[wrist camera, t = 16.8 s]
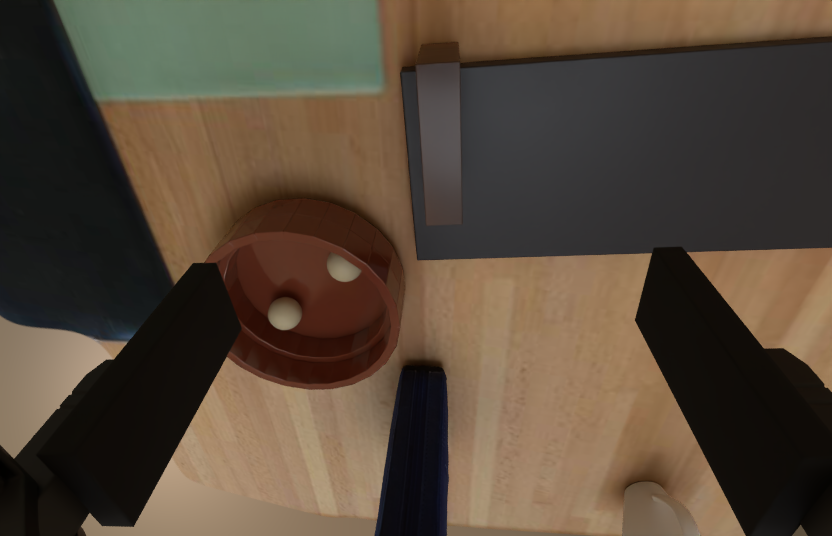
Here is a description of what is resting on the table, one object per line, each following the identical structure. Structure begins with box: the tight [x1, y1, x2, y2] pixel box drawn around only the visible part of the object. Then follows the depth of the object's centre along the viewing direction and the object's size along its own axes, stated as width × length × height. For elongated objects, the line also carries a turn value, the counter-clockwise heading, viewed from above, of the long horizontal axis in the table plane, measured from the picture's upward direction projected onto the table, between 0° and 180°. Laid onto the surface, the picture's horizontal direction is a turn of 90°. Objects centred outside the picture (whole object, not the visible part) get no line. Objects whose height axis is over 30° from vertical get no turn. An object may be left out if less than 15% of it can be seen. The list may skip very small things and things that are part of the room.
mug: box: [622, 481, 701, 536], centre depth 49 cm, size 12×8×11 cm
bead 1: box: [268, 297, 302, 330], centre depth 39 cm, size 3×3×3 cm
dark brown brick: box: [415, 42, 463, 226], centre depth 27 cm, size 2×9×6 cm, turn 4°
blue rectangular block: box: [375, 365, 449, 536], centre depth 40 cm, size 14×5×20 cm, turn 1°
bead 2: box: [327, 252, 361, 282], centre depth 35 cm, size 3×3×3 cm
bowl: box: [204, 198, 405, 390], centre depth 37 cm, size 15×15×6 cm
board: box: [400, 37, 832, 260], centre depth 31 cm, size 36×14×2 cm, turn 94°
